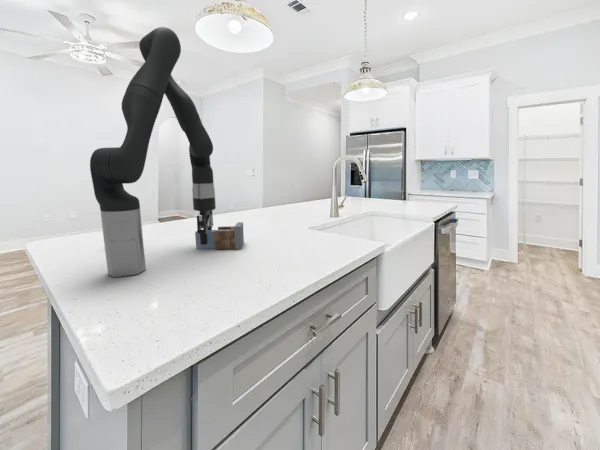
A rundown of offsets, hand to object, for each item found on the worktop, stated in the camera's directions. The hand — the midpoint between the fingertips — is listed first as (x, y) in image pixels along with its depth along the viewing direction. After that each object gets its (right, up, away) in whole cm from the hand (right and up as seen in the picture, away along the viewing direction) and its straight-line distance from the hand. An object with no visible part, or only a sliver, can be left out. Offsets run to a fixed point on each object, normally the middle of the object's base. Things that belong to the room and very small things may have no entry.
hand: (206, 241), depth 113 cm
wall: (+12, -2, +1) cm, 12 cm away
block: (+7, -2, +1) cm, 7 cm away
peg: (+3, -2, +1) cm, 3 cm away
